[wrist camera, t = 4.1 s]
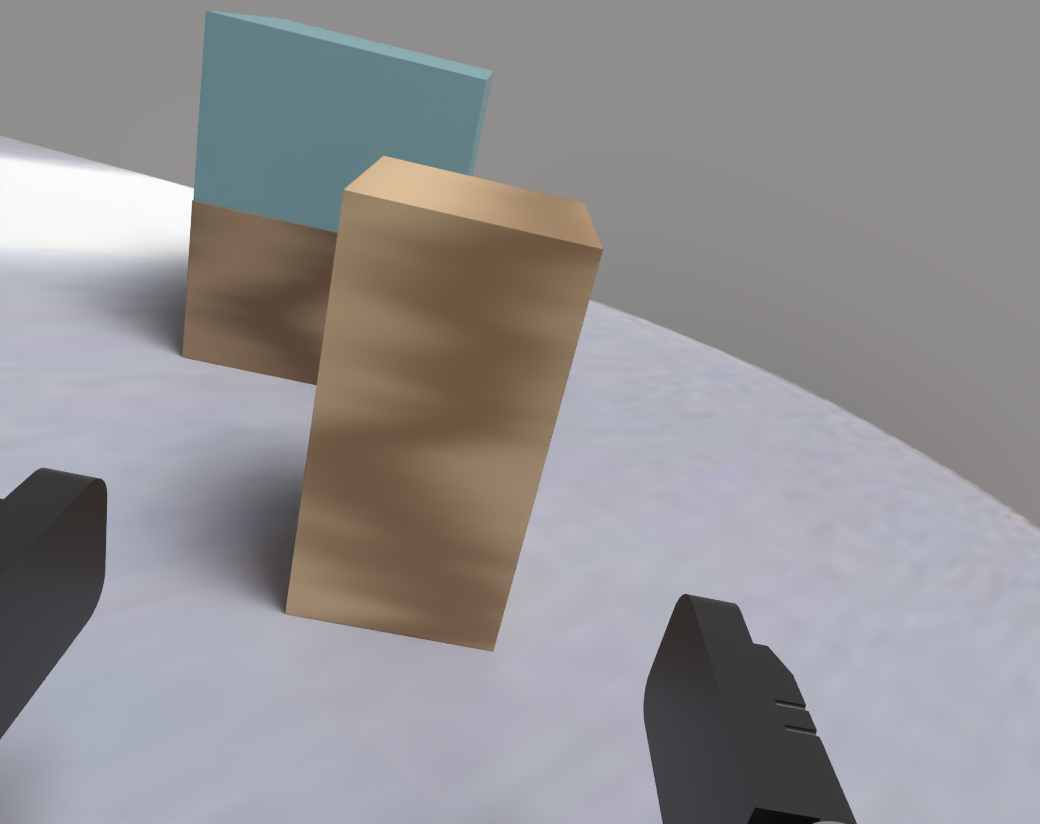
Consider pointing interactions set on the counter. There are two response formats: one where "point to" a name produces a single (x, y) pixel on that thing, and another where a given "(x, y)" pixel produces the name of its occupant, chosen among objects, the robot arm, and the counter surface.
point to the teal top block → (322, 115)
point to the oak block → (436, 398)
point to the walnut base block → (257, 292)
